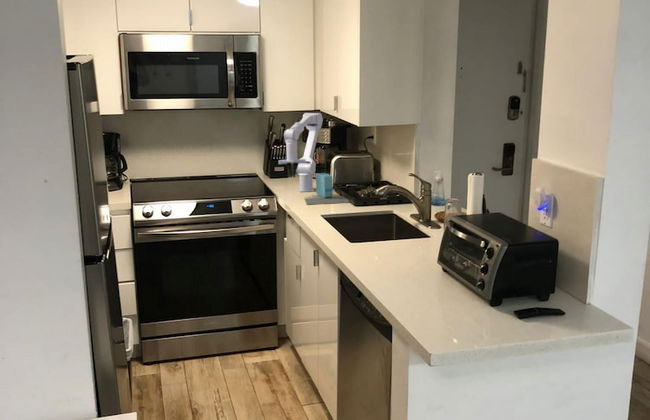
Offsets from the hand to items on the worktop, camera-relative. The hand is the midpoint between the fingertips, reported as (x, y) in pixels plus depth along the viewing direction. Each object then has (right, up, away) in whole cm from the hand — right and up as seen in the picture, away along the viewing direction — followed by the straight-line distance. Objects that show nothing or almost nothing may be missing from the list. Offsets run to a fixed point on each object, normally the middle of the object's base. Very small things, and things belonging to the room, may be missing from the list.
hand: (292, 176), depth 359 cm
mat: (+18, -13, -11) cm, 25 cm away
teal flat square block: (+17, -11, -2) cm, 20 cm away
